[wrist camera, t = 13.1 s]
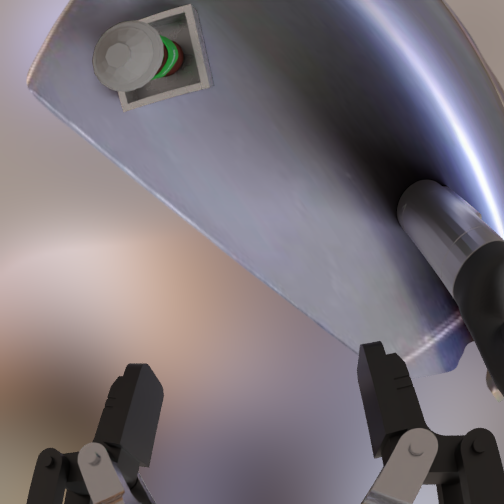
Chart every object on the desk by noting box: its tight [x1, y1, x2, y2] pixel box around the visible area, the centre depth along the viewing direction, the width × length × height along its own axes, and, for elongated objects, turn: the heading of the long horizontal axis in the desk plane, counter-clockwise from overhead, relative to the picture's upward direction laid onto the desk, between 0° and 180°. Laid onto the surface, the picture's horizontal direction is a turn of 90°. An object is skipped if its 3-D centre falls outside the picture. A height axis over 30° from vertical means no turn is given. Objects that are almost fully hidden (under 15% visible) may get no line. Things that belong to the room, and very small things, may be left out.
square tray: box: [118, 4, 214, 112], centre depth 30 cm, size 10×10×4 cm
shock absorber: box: [92, 20, 183, 92], centre depth 25 cm, size 6×6×15 cm
